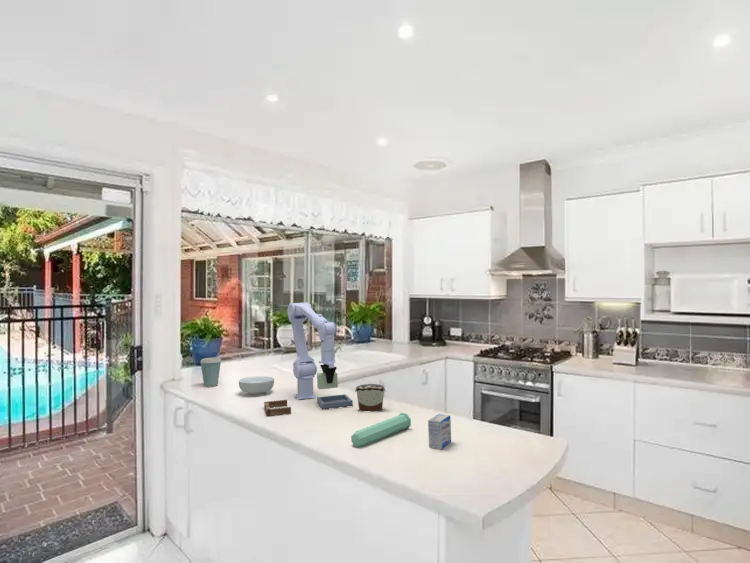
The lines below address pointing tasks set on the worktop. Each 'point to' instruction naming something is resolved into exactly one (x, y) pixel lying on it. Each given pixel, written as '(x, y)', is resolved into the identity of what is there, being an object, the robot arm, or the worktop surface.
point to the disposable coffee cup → (210, 371)
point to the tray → (334, 401)
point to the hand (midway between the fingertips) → (328, 382)
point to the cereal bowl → (256, 384)
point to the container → (381, 430)
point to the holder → (276, 410)
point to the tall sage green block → (323, 382)
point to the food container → (370, 397)
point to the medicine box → (439, 431)
